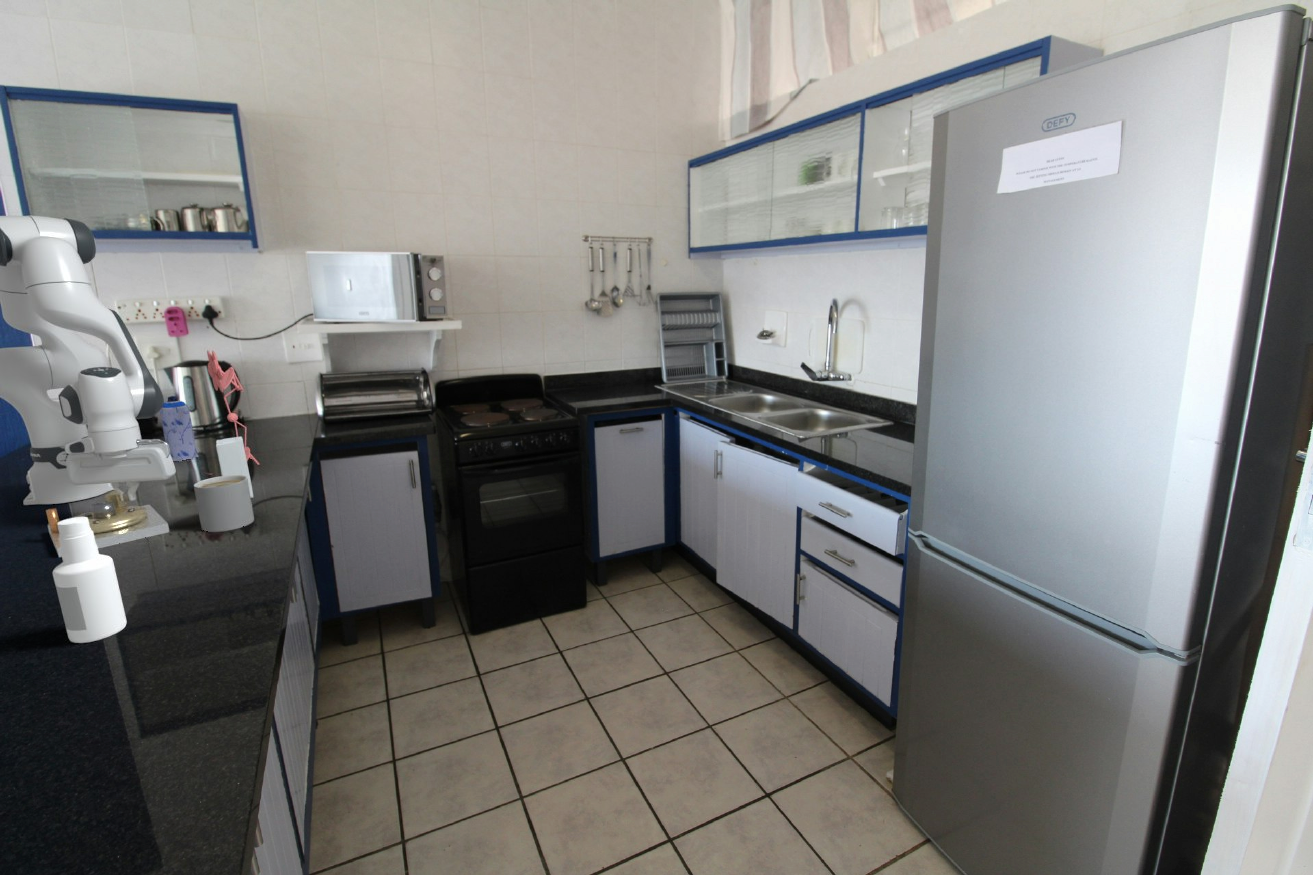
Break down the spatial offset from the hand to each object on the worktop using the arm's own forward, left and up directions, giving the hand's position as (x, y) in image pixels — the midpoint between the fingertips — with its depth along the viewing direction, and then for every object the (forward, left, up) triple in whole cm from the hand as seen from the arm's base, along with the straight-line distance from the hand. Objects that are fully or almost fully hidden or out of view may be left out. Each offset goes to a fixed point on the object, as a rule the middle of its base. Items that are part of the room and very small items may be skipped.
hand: (129, 500), depth 147 cm
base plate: (+5, -5, -5) cm, 8 cm away
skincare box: (-3, +22, -5) cm, 23 cm away
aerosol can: (-64, +22, -5) cm, 68 cm away
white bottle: (+60, -13, -5) cm, 61 cm away
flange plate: (+4, -5, -3) cm, 7 cm away
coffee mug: (+17, +14, -5) cm, 23 cm away
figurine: (-40, +29, -5) cm, 50 cm away
